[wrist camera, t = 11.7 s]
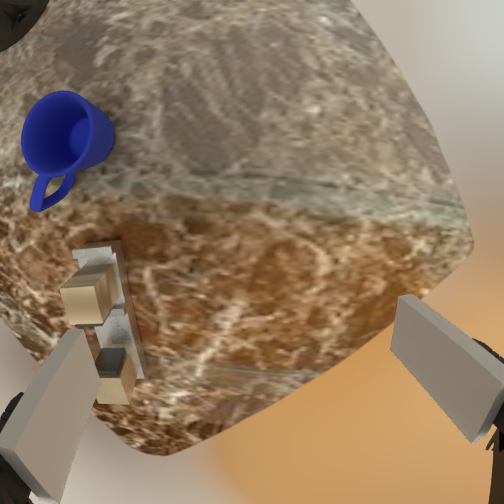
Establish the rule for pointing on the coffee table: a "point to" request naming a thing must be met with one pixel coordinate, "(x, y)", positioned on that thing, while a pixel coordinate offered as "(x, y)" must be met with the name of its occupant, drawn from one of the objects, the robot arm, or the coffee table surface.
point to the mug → (63, 142)
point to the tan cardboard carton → (90, 295)
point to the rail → (116, 329)
